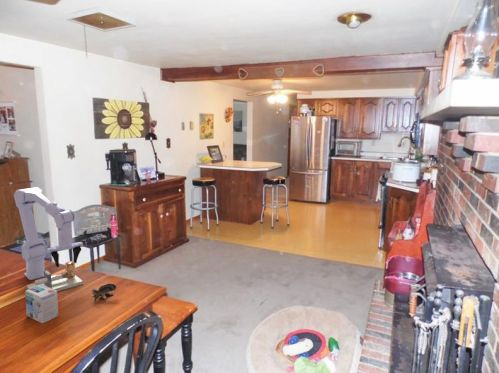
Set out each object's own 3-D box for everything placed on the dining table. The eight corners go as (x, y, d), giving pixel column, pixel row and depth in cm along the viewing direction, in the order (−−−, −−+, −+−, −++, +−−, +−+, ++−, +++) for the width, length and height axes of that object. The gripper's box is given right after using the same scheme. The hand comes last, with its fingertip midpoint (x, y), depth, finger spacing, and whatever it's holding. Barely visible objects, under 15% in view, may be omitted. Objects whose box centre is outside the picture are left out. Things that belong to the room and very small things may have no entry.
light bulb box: (26, 316, 133) (24, 290, 131) (43, 308, 139) (41, 283, 137) (42, 324, 128) (40, 297, 126) (59, 315, 134) (58, 290, 132)
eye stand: (27, 288, 155) (25, 272, 154) (73, 276, 170) (72, 261, 168) (34, 297, 147) (33, 281, 146) (82, 284, 162) (82, 269, 160)
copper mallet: (34, 284, 154) (33, 269, 152) (73, 274, 166) (72, 260, 165) (37, 287, 151) (36, 272, 150) (76, 277, 163) (76, 262, 162)
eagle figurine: (102, 302, 143) (119, 291, 150) (93, 288, 143) (111, 277, 150) (94, 306, 148) (112, 295, 155) (86, 292, 148) (104, 281, 155)
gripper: (50, 241, 148) (51, 271, 151) (84, 235, 159) (85, 263, 161) (45, 237, 153) (47, 266, 155) (79, 232, 163) (80, 258, 166)
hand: (66, 264), depth 158 cm, fingers open, 7 cm apart
